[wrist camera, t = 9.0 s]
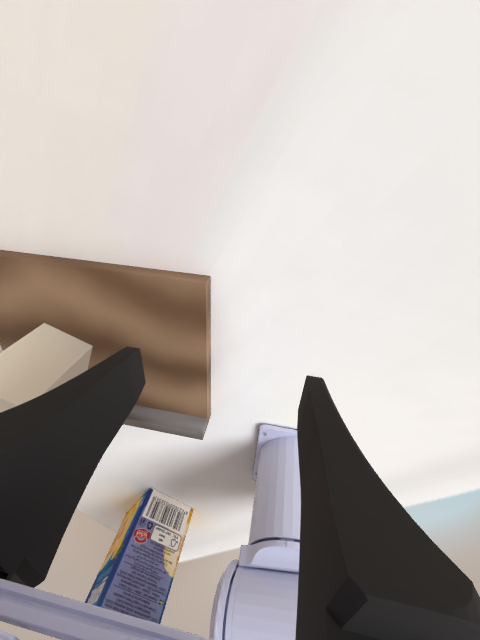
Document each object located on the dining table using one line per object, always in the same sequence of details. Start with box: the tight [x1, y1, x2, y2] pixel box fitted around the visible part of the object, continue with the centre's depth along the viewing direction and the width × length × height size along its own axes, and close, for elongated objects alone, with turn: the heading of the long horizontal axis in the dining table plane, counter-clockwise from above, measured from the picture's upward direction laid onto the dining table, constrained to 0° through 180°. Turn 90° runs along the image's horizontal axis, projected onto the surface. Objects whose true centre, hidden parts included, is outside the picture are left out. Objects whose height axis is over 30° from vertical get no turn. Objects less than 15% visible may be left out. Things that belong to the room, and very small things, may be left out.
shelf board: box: [0, 250, 211, 440], centre depth 24 cm, size 15×20×3 cm
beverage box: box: [85, 488, 193, 624], centre depth 32 cm, size 7×11×22 cm, turn 149°
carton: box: [0, 323, 93, 413], centre depth 22 cm, size 5×4×7 cm
